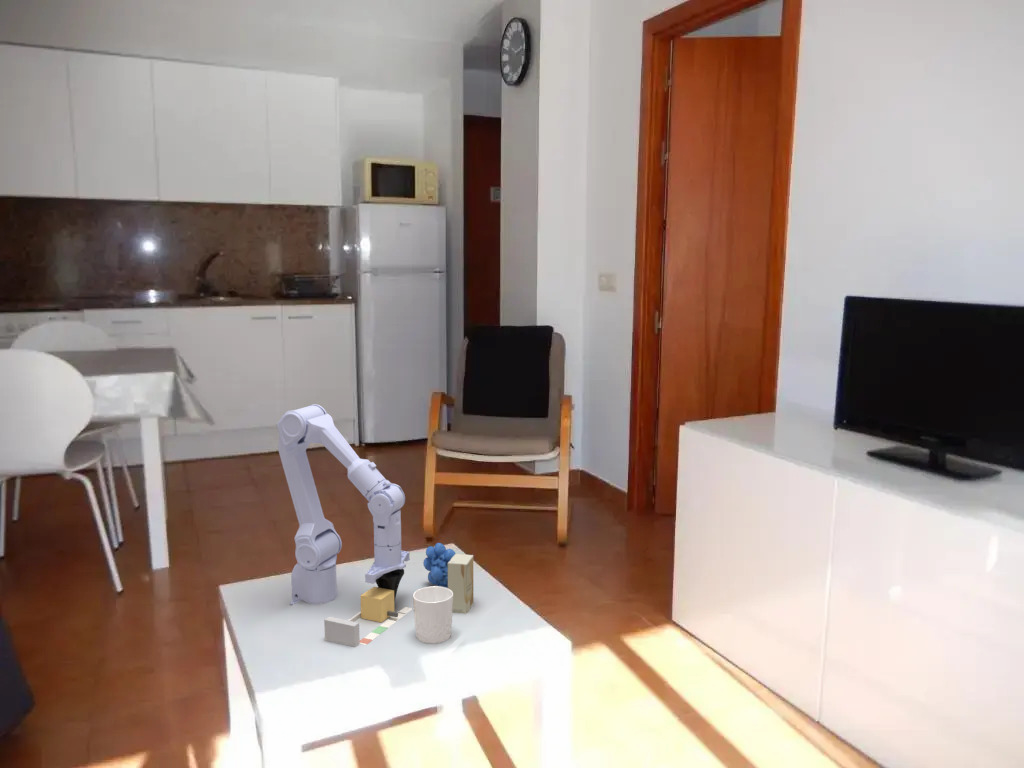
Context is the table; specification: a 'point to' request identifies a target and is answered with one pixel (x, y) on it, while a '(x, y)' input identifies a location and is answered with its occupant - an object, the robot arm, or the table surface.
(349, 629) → the gauge track
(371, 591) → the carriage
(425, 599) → the white cup
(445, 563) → the grapes
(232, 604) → the table surface
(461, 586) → the skincare box
